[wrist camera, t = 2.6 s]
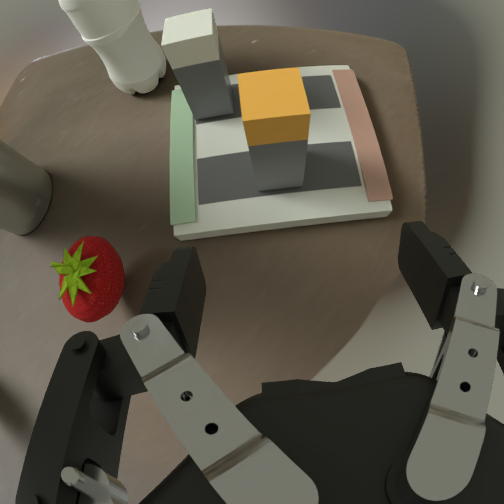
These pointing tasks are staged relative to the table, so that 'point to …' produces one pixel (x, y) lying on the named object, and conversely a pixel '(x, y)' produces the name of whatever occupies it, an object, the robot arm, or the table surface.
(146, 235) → the table surface
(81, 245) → the strawberry
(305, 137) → the orange-topped grey pillar
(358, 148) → the grey base plate
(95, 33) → the water bottle
